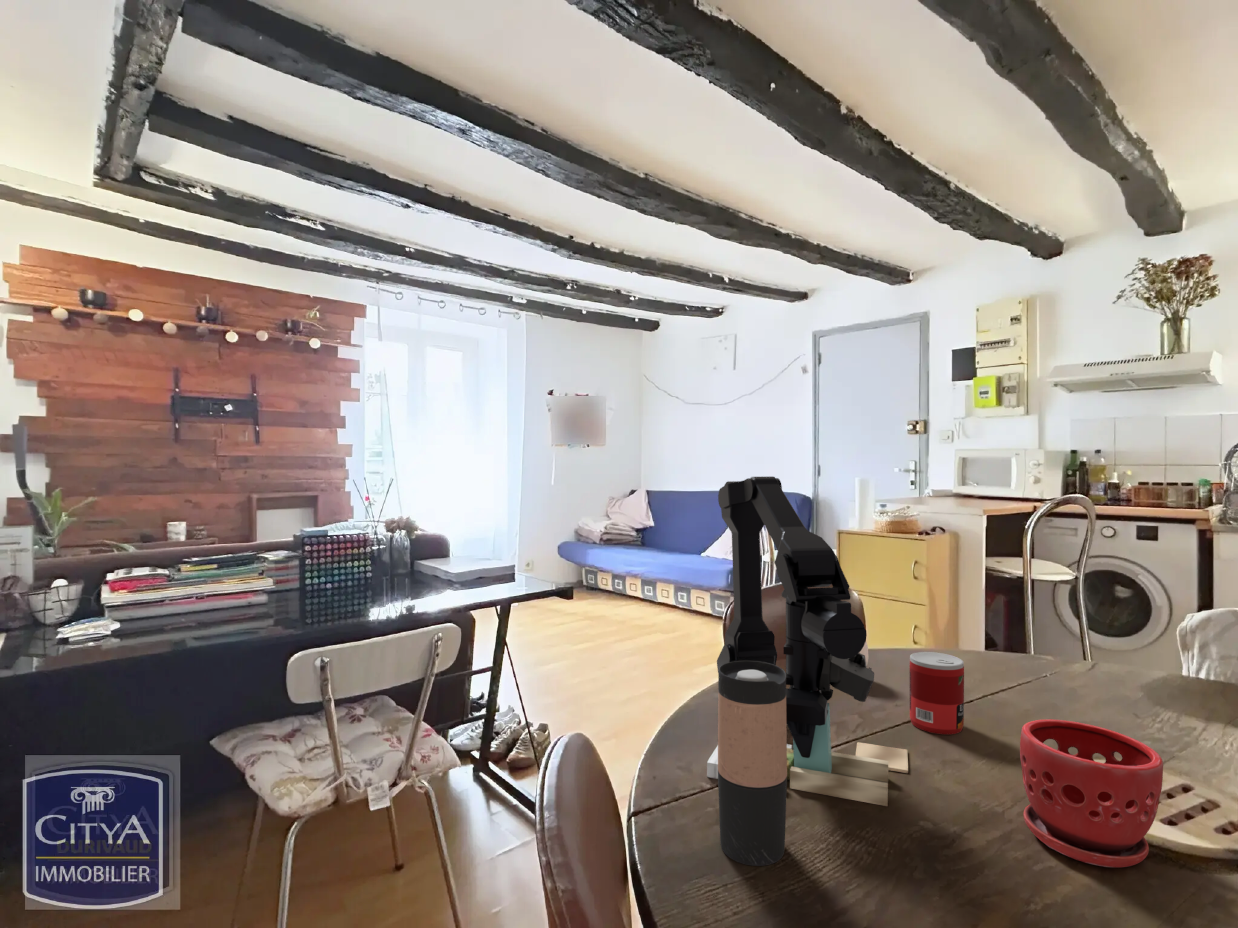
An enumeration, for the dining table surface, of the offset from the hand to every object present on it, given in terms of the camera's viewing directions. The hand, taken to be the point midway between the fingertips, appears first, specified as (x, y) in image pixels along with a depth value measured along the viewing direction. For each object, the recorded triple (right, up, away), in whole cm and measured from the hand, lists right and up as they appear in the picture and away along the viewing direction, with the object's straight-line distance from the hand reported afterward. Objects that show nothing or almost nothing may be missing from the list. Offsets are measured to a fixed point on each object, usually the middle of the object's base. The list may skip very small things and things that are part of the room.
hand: (807, 750), depth 91 cm
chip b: (-3, -4, +1) cm, 5 cm away
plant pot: (+27, -4, -16) cm, 32 cm away
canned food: (+26, -4, +17) cm, 31 cm away
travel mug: (-11, -4, -16) cm, 20 cm away
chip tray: (-7, -4, +3) cm, 9 cm away
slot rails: (+4, -4, -2) cm, 6 cm away
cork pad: (+12, -4, +6) cm, 14 cm away
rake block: (+1, -3, 0) cm, 3 cm away
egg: (+19, -3, +40) cm, 44 cm away
